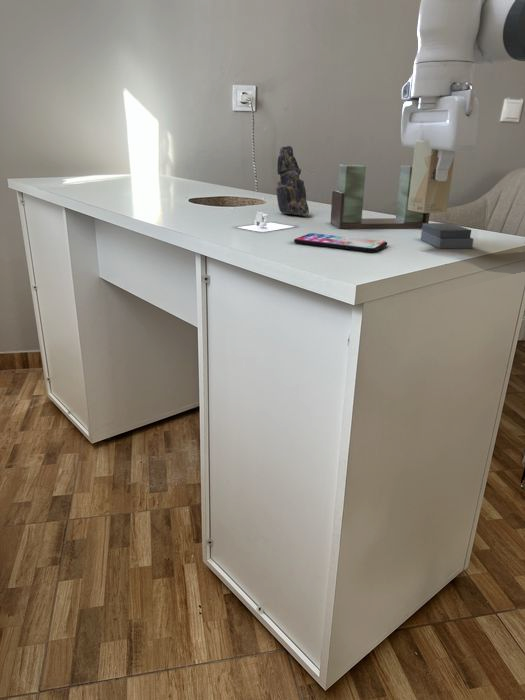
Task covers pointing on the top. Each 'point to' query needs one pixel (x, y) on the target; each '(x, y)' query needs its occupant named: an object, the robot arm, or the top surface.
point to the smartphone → (341, 242)
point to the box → (427, 181)
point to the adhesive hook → (264, 224)
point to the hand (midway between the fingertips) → (430, 179)
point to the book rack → (351, 202)
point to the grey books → (446, 235)
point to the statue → (290, 185)
